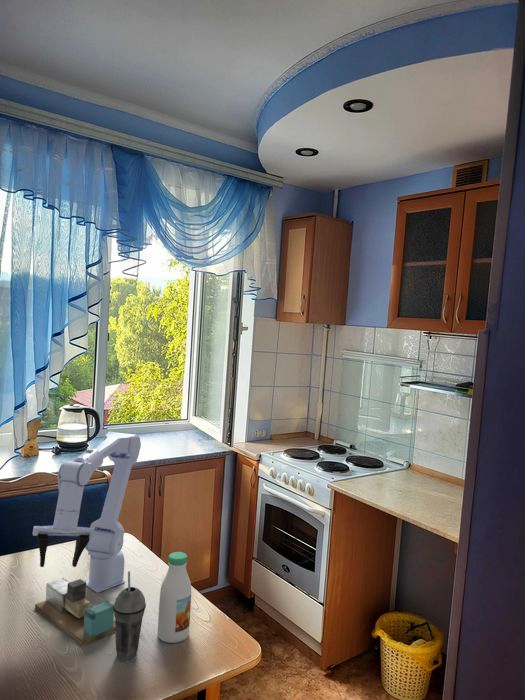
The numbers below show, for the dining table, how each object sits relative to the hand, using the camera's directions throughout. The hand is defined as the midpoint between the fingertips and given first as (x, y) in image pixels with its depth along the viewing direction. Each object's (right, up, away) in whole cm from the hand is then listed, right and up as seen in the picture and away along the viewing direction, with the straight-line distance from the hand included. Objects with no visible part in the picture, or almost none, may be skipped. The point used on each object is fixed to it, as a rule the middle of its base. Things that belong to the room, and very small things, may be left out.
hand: (58, 566), depth 129 cm
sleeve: (-2, -13, +8) cm, 15 cm away
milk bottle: (+29, -17, -1) cm, 33 cm away
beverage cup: (+20, -16, -10) cm, 28 cm away
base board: (+3, -15, +3) cm, 16 cm away
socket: (+11, -14, -3) cm, 18 cm away
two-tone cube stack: (+1, -13, +5) cm, 14 cm away
